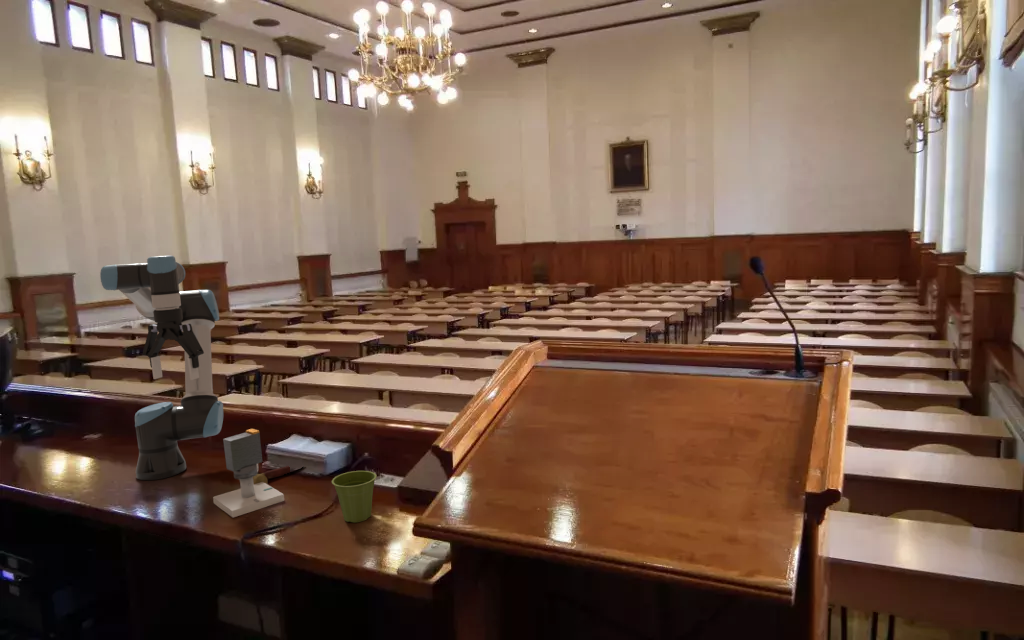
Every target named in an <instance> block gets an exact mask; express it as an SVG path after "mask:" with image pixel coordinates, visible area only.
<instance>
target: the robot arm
mask: <svg viewBox="0 0 1024 640" xmlns="http://www.w3.org/2000/svg"><path fill="white" fill-rule="evenodd" d="M99 273H100V275H99V276H100V282H101V286H102V288H103V289H104V290H106V291H119V292H121V294H122V295H124V296H125V297H126V299H128V300H129V301H130V302H132V303H133V305H135V309H136V311H137V312H138V313H139V314H140V315H141V316H142V317H144V318H146V319H148V320H150V321H152V322H155V323H153V324H149V325H148V326H147V336H146V339H145V343H144V347H143V351H142V355H143V356H147V357H148V359H149V365H150V368H151V370H152V377H153V380H157V379H161V378H163V377H164V376H163V370H162V362H161V361H162V360H161V356H160V355H159V353H160V351H161V349H162V347H163V345H164V344H165V342H166V341H168V340H172V341H175V342H177V343H178V344H179V346H180V347H181V348H182V349H183V350H184V375H185V376H184V377H185V379H184V380H185V381H184V383H185V384H184V386H185V387H184V389H185V395H184V396H183V397H182V398H181V399H180V405H175V406H174V404H173V402H172V401H163V402H159V403H154V404H150V405H148V406H145V407H142V408H141V409H139V410H137V412H135V415H134V427H135V433H136V439H137V448H138V458H137V462H136V463H137V464H136V468H135V476H136V479H137V480H140V481H155V480H156V481H157V480H163V479H166V478H170V477H173V476H176V475H178V474H181V473H182V472H185V470H186V469H187V463H186V459H185V457H184V455H183V453H182V452H181V450H180V447H179V446H178V441H184V440H190V439H191V440H192V439H200V438H208V437H212V436H216V435H219V434H220V432H221V431H222V427H223V421H224V404H223V402H222V401H221V400H219V398H218V396H217V395H216V394H215V393H214V389H213V366H212V365H213V362H212V361H213V360H212V337H211V335H212V334H211V331H212V330H213V329H214V328H215V325H216V322H218V321H219V320H220V311H219V308H218V303H217V300H216V297H215V294H214V292H213V291H212V290H211V289H196V290H185V291H184V290H183V291H182V290H181V291H180V286H179V284H181V283H182V282H183V281H184V280H185V278H186V270H185V268H184V266H183V265H182V264H181V263H179V262H178V261H176V257H175V256H174V255H158V256H157V255H156V256H149V257H147V259H146V262H143V263H142V262H141V263H140V262H139V263H121V264H108V265H103V266H102V267H101V270H100V272H99Z"/></svg>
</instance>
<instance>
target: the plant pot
mask: <svg viewBox="0 0 1024 640" xmlns="http://www.w3.org/2000/svg"><path fill="white" fill-rule="evenodd" d="M377 477H378V476H377V474H376V473H375V472H373V471H370V470H356V471H355V470H353V471H347V472H345V473H341V474H338V475H336V476H334V478H332V480H331V484H332V485H333V486H334V488H335V491H336V494H337V497H338V500H339V501H338V502H339V505H340V509H341V512H342V517H343V520H344V521H345V522H346V523H348V522H350V523H356V524H357V523H359V522H364V521H366V520H368V519H369V518H371V516H372V508H373V507H372V506H373V505H372V504H373V493H374V487H375V480H376V479H377Z"/></svg>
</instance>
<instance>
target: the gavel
mask: <svg viewBox="0 0 1024 640" xmlns="http://www.w3.org/2000/svg"><path fill="white" fill-rule="evenodd" d="M289 472H290V467H289V465H286V466H283V467H279V468H275V469H271V470H270V469H269V470H267V471H264V472H262V473H257V475H256V476H254V477H253V483H254V484H257V483H260V482H264V483H266V484H267V485H268V480H270V479H274V478H278V477H282V476H285V475H284V474H286V475H288V474H287V473H289ZM289 474H290V473H289ZM238 481H239V482H240V479H238Z"/></svg>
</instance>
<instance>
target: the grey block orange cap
mask: <svg viewBox="0 0 1024 640" xmlns="http://www.w3.org/2000/svg"><path fill="white" fill-rule="evenodd" d="M222 440H223V449H224V457H225V465H226V470H228V471H231V472H233V478H234V479H235V480H239V479H247V478H251V477H254V476H256V475H257V474H258V472H257V464H258V465H259V464H260V463H263V462H264V461H263V453H262V446H261V434H260V430H259V429H255V428H250V429H246V430H245V432H242V433H239V434H235V435H232V436H228V437H226V438H223V439H222Z"/></svg>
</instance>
